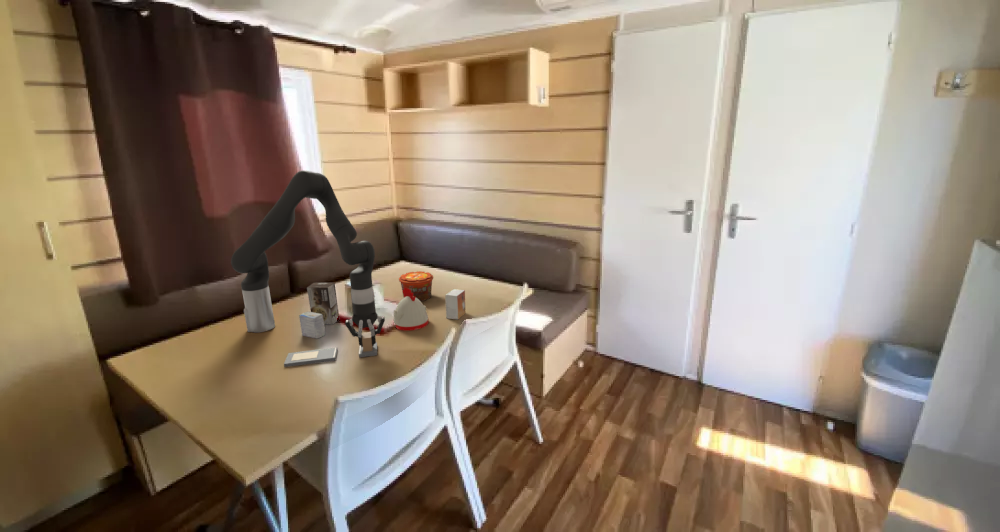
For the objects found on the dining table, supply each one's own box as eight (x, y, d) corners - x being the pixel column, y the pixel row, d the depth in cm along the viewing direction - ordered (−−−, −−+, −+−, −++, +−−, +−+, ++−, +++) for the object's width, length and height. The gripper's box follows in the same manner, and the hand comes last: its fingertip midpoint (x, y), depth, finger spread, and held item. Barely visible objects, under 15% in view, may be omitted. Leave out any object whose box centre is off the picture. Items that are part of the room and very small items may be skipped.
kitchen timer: (415, 314, 188) (413, 281, 184) (435, 323, 179) (433, 288, 175) (387, 323, 179) (384, 289, 175) (405, 333, 170) (403, 297, 165)
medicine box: (325, 334, 169) (323, 313, 167) (316, 339, 165) (313, 318, 163) (311, 331, 173) (308, 310, 170) (301, 335, 169) (298, 314, 166)
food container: (431, 303, 201) (430, 280, 198) (396, 303, 201) (395, 281, 198) (436, 291, 216) (435, 270, 214) (404, 291, 217) (402, 270, 214)
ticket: (284, 367, 145) (283, 363, 145) (288, 356, 153) (288, 352, 152) (335, 360, 149) (335, 357, 149) (337, 350, 157) (337, 346, 156)
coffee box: (340, 318, 184) (335, 282, 180) (332, 324, 178) (328, 287, 174) (319, 318, 185) (314, 281, 181) (311, 324, 179) (306, 286, 175)
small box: (458, 320, 182) (457, 296, 179) (445, 318, 184) (444, 294, 181) (466, 313, 189) (465, 290, 186) (454, 311, 191) (453, 288, 188)
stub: (359, 357, 151) (357, 341, 149) (360, 347, 158) (358, 331, 157) (377, 355, 152) (375, 338, 151) (377, 345, 160) (375, 329, 158)
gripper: (340, 305, 145) (346, 352, 150) (384, 301, 148) (388, 347, 153) (342, 297, 152) (347, 343, 157) (384, 293, 155) (388, 338, 160)
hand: (367, 345), depth 155 cm, fingers closed on stub, 3 cm apart
